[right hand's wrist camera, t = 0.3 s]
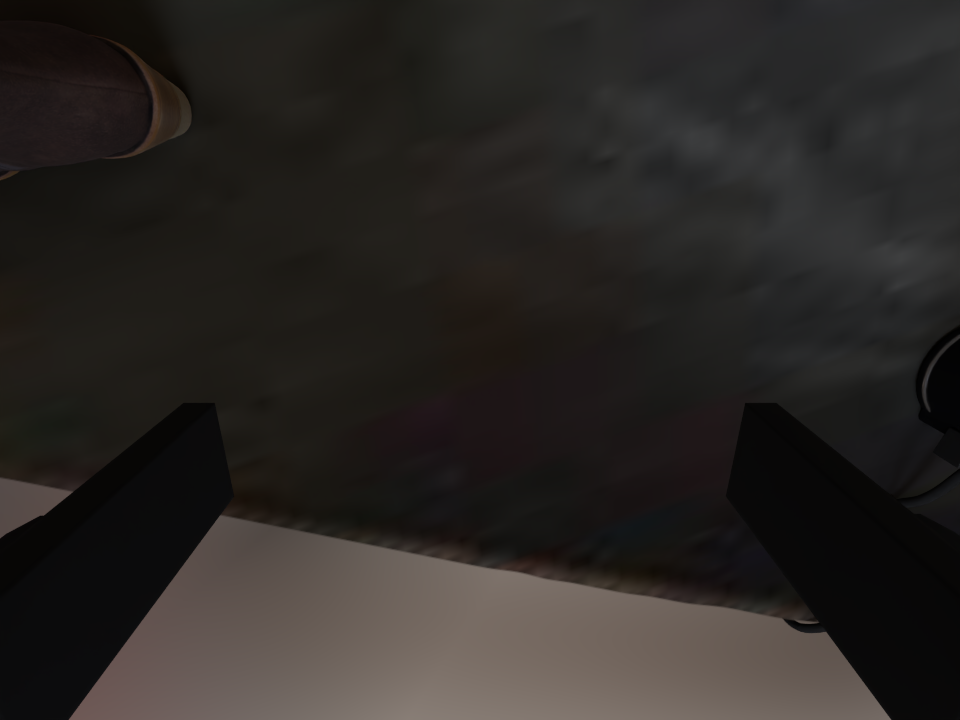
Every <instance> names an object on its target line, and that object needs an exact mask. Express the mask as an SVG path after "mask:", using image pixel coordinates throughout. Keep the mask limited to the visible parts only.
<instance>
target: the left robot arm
mask: <svg viewBox="0 0 960 720" xmlns="http://www.w3.org/2000/svg"><path fill="white" fill-rule="evenodd" d="M917 397H918V400H919V403H920V405H921V407H922V410H921V413H920V415H919V419H920V420H921V421H923V422H925V423H927V424H928V425H930V426H932V427H933V428H935V429H937V430H939V431H940V432H942V433H944V434H945V435H944V436H943V438H942V439H941V441H940V442H939V444H938V445H937V447H936V448H935V450H934V451H933V453H935V454H936V455H938V456H939V457H941V458H942V459H944V460H946V461H947V462H949V463H950V464H952V465H953V466H955V467H957V468H960V329H958V330H956V331H954V332H953V333H951V334H950V335H948V336H947V337H946V338H945V339H943V340H942V341H941V342H940V343H939V344H938V345H937V346H936V347H935V348H934V349H933V350H932V352H931V353H930V354H929V355H928V357H927V358H926V360H925V362H924V363H923V365H922V367H921V370H920V372H919V375H918V379H917ZM959 484H960V469H958V470H957V471H956V472H954V473H953V474H952V475H951V476H949V477H948V478H947V479H945V480H944V481H943V482H941V483H940V484H939V485H937V486H936V487H934V488H933V489H931V490H929V491H927V492H925V493H923V494H921V495H918V496H915V497H909V498H901V499H896V500H897V501H898V502H900V503H901V504H902V505H903V506H905V507H906V508H908V507H917V506H922V505H925V504H928V503H930V502H932V501H934V500H936V499H938V498H940V497H941V496H943V495H945V494H946V493H948V492H949V491H951V490H952V489H953V488H955V487H956V486H957V485H959ZM783 620H784V621H785V622H786V623H787V624H788V625H789V626H790V627H792V628H794V629H796V630H798V631H800V632H805V633H821V632H826V631H825V629H824V628H823V627H822V625H821V624H820V623H815V624H803V623H799V622H797V621H795V620H788V619H783Z"/></svg>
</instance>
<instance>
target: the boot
mask: <svg viewBox="0 0 960 720" xmlns="http://www.w3.org/2000/svg"><path fill="white" fill-rule="evenodd" d="M191 117H192V114H191V107H190V104H189V101H188V99H187V98H186V96H185V94H184V93H183V92H182V91H181V90H180V89H179V88H178V87H176V86H175V85H174V84H172V83H171V82H170V81H168V80H167V79H165V78H164V77H163V76H162V75H161V74H160V73H158V72H157V71H156V70H154V69H152V68H151V67H150V66H149V65H147V64H146V63H145V62H144V61H143V60H142V59H141V58H140V57H139V56H137V55H136V54H135V53H134V52H133V51H131V50H130V49H128V48H127V47H125V46H123V45H121V44H119V43H117V42H114V41H112V40H109V39H106V38H102V37H98V36H94V35H88V34H85V33H83V32H81V31H78V30H76V29H73V28H70V27H66V26H63V25H59V24H54V23H49V22H40V21H32V20H7V21H0V180H3V179H6V178H8V177H11V176H13V175H14V174H16V173H18V172H19V171H23V170H31V169H36V168H41V167H49V166H61V165H69V164H75V163H80V162H85V161H90V160H95V159H99V158H126V157H131V156H134V155H137V154H140V153H142V152H144V151H146V150H148V149H150V148H152V147H155V146H157V145H159V144H161V143H163V142H165V141H167V140H169V139H172V138H175V137H177V136H180V135H182V134H184V133H185V132H186V131H187V130H188V128H189V126H190V124H191Z"/></svg>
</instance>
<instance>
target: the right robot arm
mask: <svg viewBox="0 0 960 720" xmlns="http://www.w3.org/2000/svg"><path fill="white" fill-rule="evenodd" d="M233 497H234V494H233V489H232V484H231V480H230V475H229V470H228V465H227V460H226V456H225V451H224V446H223V441H222V436H221V431H220V427H219V422H218V417H217V412H216V407H215V403H183V404H182V405H181V406H179V407H178V408H177V409H176V410H174V411H173V412H172V413H171V414H169V415H168V416H167V417H166V418H164V419H163V420H162V421H161V422H159V423H158V424H157V425H156V426H155V427H153V428H152V429H151V430H150V431H148V432H147V433H146V434H145V435H143V436H142V437H141V438H140V439H138V440H137V441H136V442H135V443H133V444H132V445H131V446H130V447H128V448H127V449H126V450H125V451H124V452H122V453H121V454H120V455H119V456H117V457H116V458H115V459H114V460H112V461H111V462H110V463H109V464H107V465H106V466H105V467H104V468H102V469H101V470H100V471H99V472H97V473H96V474H95V475H94V476H93V477H91V478H90V479H89V480H88V481H86V482H85V483H84V484H83V485H81V486H80V487H79V488H78V489H76V490H75V491H74V492H73V493H71V494H70V495H69V496H68V497H66V498H65V499H64V500H63V501H62V502H60V503H59V504H58V505H57V506H55V507H54V508H53V509H52V510H50V511H49V512H48V513H47V514H45V515H44V516H39V517H37V518H35V519H33V520H31V521H29V522H28V523H26V524H24V525H22V526H20V527H18V528H16V529H15V530H13V531H11V532H9V533H7V534H5V535H4V536H3V537H2V538H0V720H69V718H70V717H71V716H72V714H73V713H74V712H75V710H76V709H77V708H78V706H79V705H80V704H81V702H82V701H83V700H84V698H85V697H86V696H87V694H88V693H89V691H90V690H91V689H92V687H93V686H94V685H95V683H96V682H97V681H98V679H99V678H100V677H101V675H102V674H103V673H104V671H105V670H106V668H107V667H108V666H109V664H110V663H111V662H112V660H113V659H114V658H115V656H116V655H117V654H118V652H119V651H120V650H121V648H122V647H123V646H124V644H125V643H126V642H127V640H128V639H129V637H130V636H131V635H132V633H133V632H134V631H135V629H136V628H137V627H138V625H139V624H140V623H141V621H142V620H143V619H144V617H145V616H146V615H147V613H148V612H149V610H150V609H151V608H152V606H153V605H154V604H155V602H156V601H157V600H158V598H159V597H160V596H161V594H162V593H163V592H164V590H165V589H166V587H167V586H168V585H169V583H170V582H171V581H172V579H173V578H174V577H175V575H176V574H177V573H178V571H179V570H180V568H181V567H182V566H183V565H184V563H185V562H186V560H187V559H188V558H189V556H190V555H191V554H192V552H193V551H194V550H195V548H196V547H197V546H198V544H199V543H200V542H201V540H202V539H203V538H204V536H205V535H206V533H207V532H208V531H209V529H210V528H211V527H212V525H213V524H214V523H215V521H216V520H217V519H218V517H219V516H220V515H221V513H222V512H223V511H224V509H225V508H226V506H227V505H228V504H229V502H230V501H231V500H232V498H233ZM726 497H727V498H728V500H729V501H730V502H731V504H732V505H733V506H734V508H735V509H736V511H737V512H738V513H739V515H740V516H741V517H742V519H743V520H744V521H745V523H746V524H747V525H748V527H749V528H750V529H751V531H752V532H753V533H754V535H755V536H756V538H757V539H758V540H759V542H760V543H761V544H762V546H763V547H764V548H765V550H766V551H767V552H768V554H769V555H770V556H771V558H772V559H773V560H774V562H775V563H776V565H777V566H778V567H779V569H780V570H781V571H782V573H783V574H784V575H785V577H786V578H787V579H788V581H789V582H790V583H791V585H792V586H793V587H794V589H795V590H796V592H797V593H798V594H799V596H800V597H801V598H802V600H803V601H804V602H805V604H806V605H807V606H808V608H809V609H810V610H811V612H812V613H813V615H814V616H815V617H816V619H817V620H818V621H819V623H820V624H821V625H822V627H823V628H824V629H825V631H826V632H827V633H828V635H829V636H830V637H831V639H832V640H833V641H834V643H835V644H836V646H837V647H838V648H839V650H840V651H841V652H842V654H843V655H844V656H845V658H846V659H847V660H848V662H849V663H850V664H851V666H852V667H853V668H854V670H855V671H856V673H857V674H858V675H859V677H860V678H861V679H862V681H863V682H864V683H865V685H866V686H867V687H868V689H869V690H870V691H871V693H872V694H873V696H874V697H875V698H876V700H877V701H878V702H879V704H880V705H881V706H882V708H883V709H884V710H885V712H886V713H887V714H888V716H889V717H890V718H891V720H960V536H959V535H958V534H956V533H955V532H953V531H952V530H950V529H948V528H946V527H944V526H942V525H940V524H938V523H936V522H935V521H933V520H931V519H929V518H927V517H925V516H923V515H921V514H913V513H912V512H911V511H910V510H908V509H907V508H906V507H905V506H903V505H902V504H901V503H900V502H898V501H897V500H896V499H895V498H894V497H892V496H891V495H890V494H889V493H887V492H886V491H885V490H884V489H882V488H881V487H880V486H879V485H877V484H876V483H875V482H874V481H872V480H871V479H870V478H869V477H867V476H866V475H865V474H864V473H863V472H861V471H860V470H859V469H858V468H856V467H855V466H854V465H853V464H851V463H850V462H849V461H848V460H846V459H845V458H844V457H843V456H841V455H840V454H839V453H838V452H836V451H835V450H834V449H833V448H832V447H830V446H829V445H828V444H827V443H825V442H824V441H823V440H822V439H820V438H819V437H818V436H817V435H815V434H814V433H813V432H812V431H810V430H809V429H808V428H807V427H805V426H804V425H803V424H802V423H801V422H799V421H798V420H797V419H796V418H794V417H793V416H792V415H791V414H789V413H788V412H787V411H786V410H784V409H783V408H782V407H781V406H779V405H778V404H777V403H745V407H744V412H743V417H742V422H741V427H740V431H739V436H738V441H737V446H736V451H735V456H734V460H733V465H732V470H731V475H730V480H729V484H728V489H727V494H726Z"/></svg>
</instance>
